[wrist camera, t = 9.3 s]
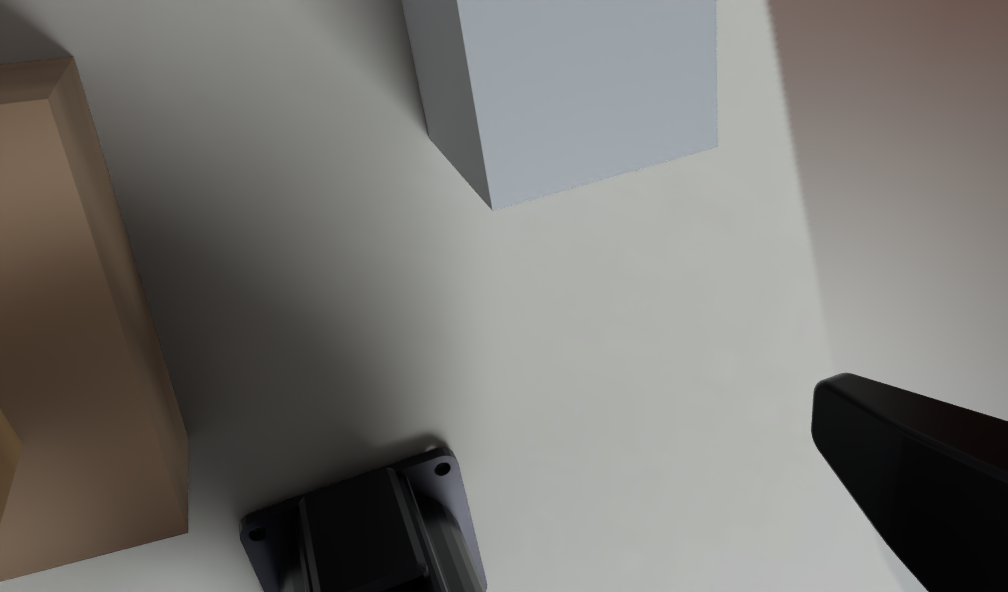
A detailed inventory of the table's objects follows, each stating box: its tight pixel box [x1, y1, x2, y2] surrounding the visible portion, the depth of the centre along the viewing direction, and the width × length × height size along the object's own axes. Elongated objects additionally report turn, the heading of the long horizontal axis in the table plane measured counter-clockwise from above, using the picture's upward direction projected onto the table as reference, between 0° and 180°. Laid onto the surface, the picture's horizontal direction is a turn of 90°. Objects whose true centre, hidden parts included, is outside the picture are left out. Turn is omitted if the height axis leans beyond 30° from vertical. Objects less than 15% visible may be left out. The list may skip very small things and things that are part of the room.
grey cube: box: [401, 0, 718, 211], centre depth 17 cm, size 5×5×5 cm
